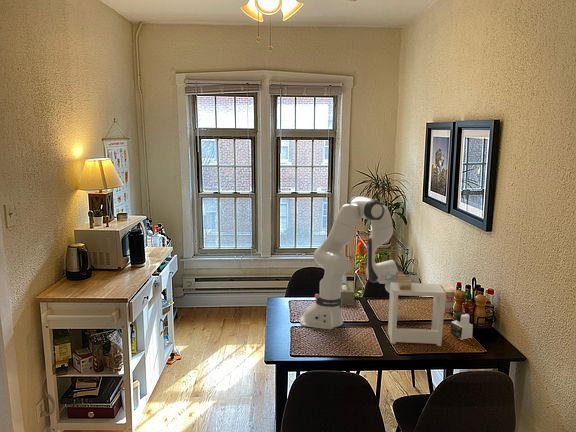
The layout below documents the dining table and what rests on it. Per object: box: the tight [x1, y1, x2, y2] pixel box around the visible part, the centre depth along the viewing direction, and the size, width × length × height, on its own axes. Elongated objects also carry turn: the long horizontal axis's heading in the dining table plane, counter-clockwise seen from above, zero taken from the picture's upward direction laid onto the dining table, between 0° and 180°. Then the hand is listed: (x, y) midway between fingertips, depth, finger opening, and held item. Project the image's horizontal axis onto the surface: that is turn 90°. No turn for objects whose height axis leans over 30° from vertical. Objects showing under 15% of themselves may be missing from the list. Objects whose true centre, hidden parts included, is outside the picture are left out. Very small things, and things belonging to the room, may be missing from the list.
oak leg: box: [396, 271, 411, 290], centre depth 218 cm, size 19×5×4 cm, turn 175°
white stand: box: [387, 282, 445, 347], centre depth 215 cm, size 23×12×26 cm, turn 85°
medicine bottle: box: [450, 311, 474, 341], centre depth 219 cm, size 7×7×12 cm
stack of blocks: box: [438, 283, 457, 313], centre depth 260 cm, size 21×6×12 cm, turn 176°
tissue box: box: [341, 273, 355, 306], centre depth 268 cm, size 19×10×16 cm, turn 175°
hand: (400, 275), depth 224 cm, fingers open, 8 cm apart
